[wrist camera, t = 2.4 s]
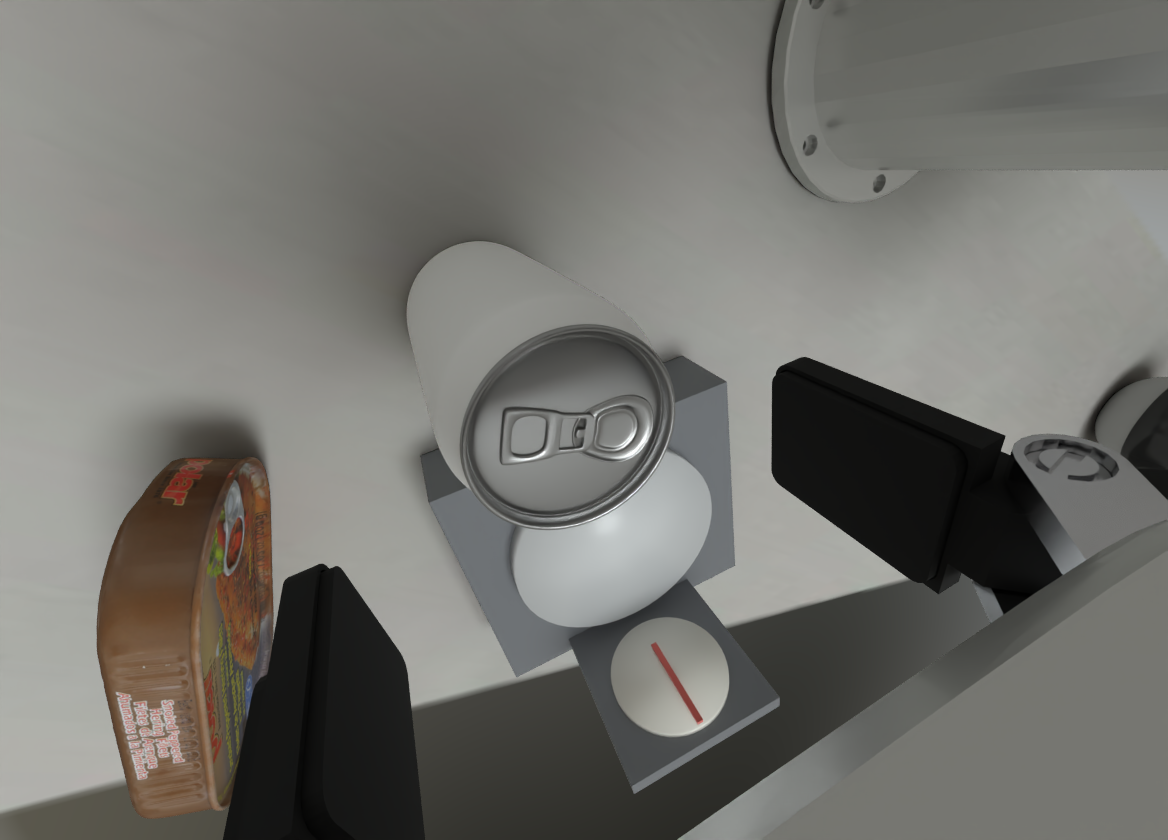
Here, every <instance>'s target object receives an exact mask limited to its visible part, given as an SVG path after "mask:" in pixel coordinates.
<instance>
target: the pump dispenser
mask: <svg viewBox="0 0 1168 840" xmlns="http://www.w3.org/2000/svg"><path fill="white" fill-rule="evenodd" d="M1095 435H1096V438H1097V440H1098V442H1099V444H1102V445H1104V446H1106V447H1108V448H1110V449H1112V450H1114V451H1116V452H1118V453H1119V454H1120V455H1122V456H1123V457H1124V458H1126V459H1127V460H1128V461H1129V462H1130V463H1131V464H1132V465H1133V466H1134V467H1135V468H1141V469H1159V470H1168V377H1157V378H1149V379H1144V380H1140V381H1137V382H1134V383H1132V384H1130V385H1128V386H1126V387H1124V388H1122V389H1121V390H1119V391H1118V392H1117V393H1115V394H1114V395H1113V396H1112V397H1111V398H1110V399H1109V400H1108V402H1107V403H1106V404H1105V405H1104V407H1103V408H1102V410H1101V411H1100V413H1099V415H1098V417H1097V420H1096V423H1095Z"/></svg>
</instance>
